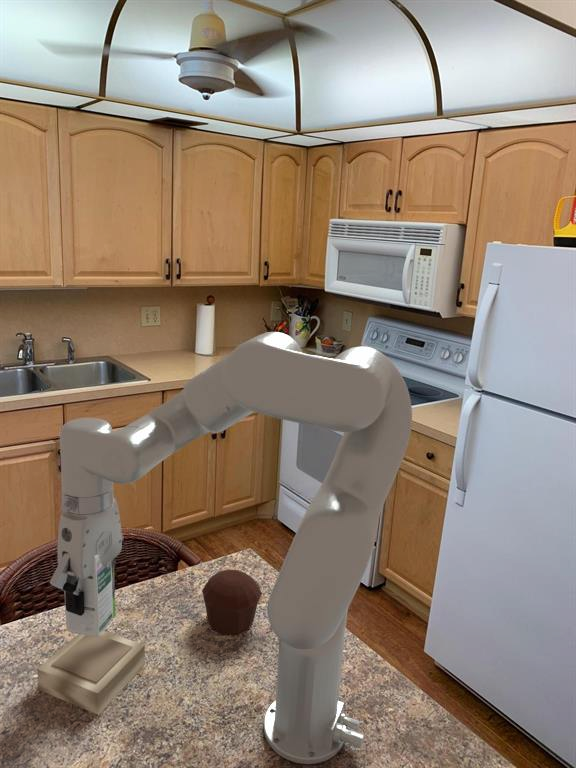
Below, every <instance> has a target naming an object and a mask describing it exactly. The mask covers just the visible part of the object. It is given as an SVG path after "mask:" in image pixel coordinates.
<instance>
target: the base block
mask: <svg viewBox="0 0 576 768" xmlns="http://www.w3.org/2000/svg"><path fill="white" fill-rule="evenodd" d="M145 649H146V646H145V644H143V643H140V642H137V641H134V640H131V639H129V638H127V637H123V636H120V635H118V634H114V633H111V632H110V631H106V630H104V631H103V632H102V633H101V634H100V636H99V637H98V638H97V637H92V636H87V635H81V634H76V635H75V636H74V637H73V638H72V639H71V640H70V641H68V642H67V643H66V644H65V645H64V646H62V647H61V648H60V649H59V650H58V651H56V652H55V653H54V654H53V655H52V656H51V657H49V658H48V659H47V660H46V661H45V662H44V663H42V664H41V665H40V666H39V667H38V668H37V684H38V685H37V687H38V691H40V692H42V693H45V694H47V695H50V696H53V697H55V698H57V699H60V700H62V701H64V702H67V703H69V704H72V705H74V706H75V707H79V708H80V709H81V708H82V709H83V710H86V711H88V712H90V713H92V714H95V715H97V716H99V715H100V714H101V713H102V712H103V711H104V710H105V709H106V708H107V707H108V705H109V704H110V703H111V702H112V701H113V700H114V699H115V698H116V697H117V696H118V695H119V694H120V693H121V691H122V690H124V688H126V686H127V685H128V684H129V683H130V681H131V680H133V678H134V677H135V676H136V675H138V673H139V672H140V671H141V670H142V669H143V667H144V666H145V665H146V657H145V656H146V650H145Z"/></svg>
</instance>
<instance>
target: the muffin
mask: <svg viewBox="0 0 576 768" xmlns="http://www.w3.org/2000/svg"><path fill="white" fill-rule="evenodd" d="M201 592H202V597H203V600H204V604H205V611H206V612H205V613H206V618H207V619H206V620H207V623H208V624H209V626H210V629H211V631H212V632H215V633H217V634H219V635H221V636H222V637H225V636H226V637H228V636H231V637H232V636H233V637H239V636H240V635H242V634H243V633H246V632H248V631H250V630H251V626H252V625H253V623H254V622H255V618H256V617H255V616H256V612H257V607H258V603H259V602H260V599H261V596H262V594H263V592H262V589H261V588H260V585H259V584H258V583H257V582H256V580H254V578H253V577H252V576H251V575H249V574H248V573H246V572H245V571H241V570H238V569H225V570H220V571H218V572H217V573H215V574H213V575H212V576H211V577H210V578H209V579H208V580H207V582H206V583H205V585H204V586H203V588H202V591H201Z"/></svg>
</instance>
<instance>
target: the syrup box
mask: <svg viewBox="0 0 576 768" xmlns="http://www.w3.org/2000/svg"><path fill="white" fill-rule="evenodd" d="M99 556H101V555H98V554H96V556H94V574H92V575H91V576H89V577H88V578H86V579H84V580H83V584H82V588H81V591H83V592H84V609H85V612H84V614H83V615H82V616H79V615H77V614H74V613H71V612H68V611H67V610H66V603H65V602H64V607H65V608H64V609H65V610H64V611H65V623H66V624H65V627H66V632H70V633H73V634H76V635H78V634H81V635H87V636H92V637H97V638H98V637H99V636H100V634H101V633H102V632H103V631H105V630H106V629H107V627H108V626H109V625H110V623H111V622H112V621H113V620H114V618H115V617H116V614H117V613H116V590H115V588H116V587H115V567H114V559H112V560H111V561H110V562H108V563H107V564H106V565H104V566H103V567H102V565H101V562H100V559H99ZM71 570H72V568H71ZM76 578H77V577H74V576H72V579H71V584H73V585H75V582H76ZM63 592H64V595H65V591H63Z"/></svg>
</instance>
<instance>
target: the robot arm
mask: <svg viewBox="0 0 576 768" xmlns="http://www.w3.org/2000/svg"><path fill="white" fill-rule="evenodd" d="M403 377H404V376H402V374H401V372H400V371H399V369H398V368H397V367H396V365H395V364H394V363H393V361H391V359H390V358H389V357H387V356H386V355H385V354H383V352H381V351H379V350H377V349H375V348H372V347H369V346H356V347H355V346H354V347H350V348H348V349H346V350H344V351H341V353H339V354H338V355H337V356H336V357H335V358H329V357H324V356H321V355H313V354H309V353H308V354H307V353H304V351H303V350H302V349H301V346H300V345H299V344H298V342H297V341H296V340H295V339H294V338H292V337H291V336H290V335H288V334H285V333H283V332H279V331H268V332H264V333H260V334H258V335H256V336H255V337H252V338H251V339H248V340H246V341H245V342H242V343H241V344H239V345H237V346H236V347H235V348H234V349H233V350H232V351H231V352H230V353H229V354H228V355H226V356H225V357H224V358H221V359H220V360H219V361H217V362H215V363H213V364H212V365H211V366H209V367H207V368H206V369H205V370H203V371H202V372H200V373H199V374H196V375H195V376H193V377H192V378H190V379H189V380H188V381H187V382H185V384H183V385H184V386H183V389H182V390H181V391H180V392H179V393H177V394H176V395H174V396H173V397H171V398H170V399H168V400H167V401H165V402H163V403H162V404H161V405H159V406H157V407H156V408H155V409H153V410H152V411H150V412H149V413H146V414H144V416H141V417H139V418H138V419H136V420H135V421H132V422H131V423H128V424H127V425H126V426H123V427H122V428H119V429H116V430H113V427H112V425H111V424H110V423H109V422H108V421H107V420H105V419H102V418H97V417H81V418H80V417H79V418H75V419H71V420H69V421H67V422H66V423H64V424H63V425H62V427H61V429H60V431H59V446H60V447H59V450H60V478H61V481H60V482H61V501H62V502H61V505H60V511H61V513H60V518H59V525H58V534H57V567H56V569H55V570H54V573H53V575H52V577H51V578H50V581H49V584H50V585H52V586H54V587H55V588H57V589H59V590H62V591H63V592H64V591H65V594H64V604H65V603H66V610H67V611H68V612H71V613H74V614H77V615H79V616H82V615H83V614H84V612H85V609H84V592H83V591H81V588H82V584H83V580H84V579H86V578H88V577H89V576H91V575H92V574H94V556H96V554H98V555H101V556H99V559H100V562H101V565H102V567H103V566H104V565H106V564H107V563H108V562H110V561H111V560H112V559H114V568H115V567H116V564H117V560H116V559H117V557H118V555H119V554H120V553H121V552H122V548H123V545H122V543H123V541H124V537H125V536H124V535H123V534H122V523H121V516H120V510H119V507H118V506H119V505H118V502H117V499H116V498H115V497H114V496H115V495H114V490H115V489H114V483H115V484H118V485H119V484H120V485H129V484H132V483H135V482H137V481H138V480H140V479H141V478H143V476H145V475H146V474H147V473H149V472H150V471H152V470H153V468H154V467H157V465H158V464H160V463H162V462H163V461H165V460H166V459H168V457H170V456H171V455H173V454H174V453H176V452H178V451H179V450H180V449H183V448H184V447H186V446H187V445H188V444H190V443H191V442H194V441H195V440H197V439H199V438H200V437H202V436H204V435H206V434H208V433H212V434H218V433H221V432H223V431H225V430H227V429H228V428H230V427H232V426H234V425H235V424H237V423H238V422H240V421H242V420H244V418H246V417H248V416H250V415H252V414H253V413H256V414H261V415H265V416H267V417H271V418H275V419H280V420H285V421H289V422H292V423H297V424H301V425H306V426H310V427H316V428H319V429H324V430H328V431H333V432H341V433H342V437H341V440H340V442H339V443H338V446H337V449H336V452H335V453H334V454H335V455H334V458H333V460H332V462H331V464H330V466H329V469H328V471H327V474H326V476H325V478H324V480H323V482H322V484H321V486H320V488H319V489H318V491H317V492H316V494H315V495H314V497H313V498H312V500H311V501H310V503H309V504H308V507H307V509H306V511H305V513H304V515H303V516H302V517H303V518H302V519H301V520H300V521H301V522H300V524H299V526H298V528H297V530H296V533H295V535H294V537H293V540H292V542H291V544H290V547H289V549H288V551H287V554H286V556H285V559H284V562H283V564H282V566H281V567H280V568H281V569H280V571H279V573H278V575H277V577H276V580H275V583H274V585H273V587H272V589H271V592H270V594H269V596H268V600H267V606H266V607H267V608H266V609H267V612H266V613H267V618H268V622H269V624H270V627H271V629H272V632H273V633H274V634H275V636H276V637H277V638H278V643H279V645H278V656H277V657H278V658H277V674H276V688H275V689H276V690H275V700H274V701H273V702H272V703H271V704H270V706H269V707H268V708H267V710H266V712H265V716H264V720H263V731H264V732H263V733H264V736H265V738H266V741H267V743H268V744H269V746H270V747H271V748H272V750H273V751H274V752H275V753H276V754H278V755H279V756H281V757H282V758H284V759H286V760H288V761H291V762H293V763H296V764H303V765H304V764H305V765H315V764H319V763H323V762H326V761H328V760H330V759H332V758H333V757H334V756H336V755H337V753H339V752H340V750H341V749H342V747H343V746H344V744H348V745H350V746H351V747H355V748H357V749H359V750H362V748H363V744H364V740H365V734H364V733H363V732H358V731H359V729H360V726H361V721H360V720H357V719H355V718H350V717H348V716H346V714H345V713H344V712H343V710H344V702H342V701H339V699H340V688H341V677H342V666H343V656H344V647H345V638H346V637H345V636H346V629H347V627H346V626H347V618H348V609H349V607H350V606H351V603H352V601H353V599H354V596H355V594H356V593H357V590H358V588H359V587H360V584H361V583H362V580H363V578H364V575H365V573H366V571H367V569H368V567H369V564H370V561H371V557H372V555H373V551H374V547H375V543H376V538H377V533H378V526H379V520H380V516H381V513H382V510H383V506H384V505H385V502H386V499H387V497H388V495H389V493H390V491H391V489H392V487H393V484H394V483H395V479H396V476H397V474H398V473H399V472H398V471H399V469H400V468H401V465H402V462H403V460H404V457H405V455H406V451H407V449H408V445H409V442H410V437H411V432H412V427H413V425H412V424H413V423H412V422H413V408H412V400H411V396H410V392H409V389H408V386H407V384H406V383H407V382H406V381H405V380H404V378H403ZM71 568H72V570H71ZM72 576H74V577H77V578H76V582H75V585H73V584H71V579H72Z"/></svg>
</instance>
